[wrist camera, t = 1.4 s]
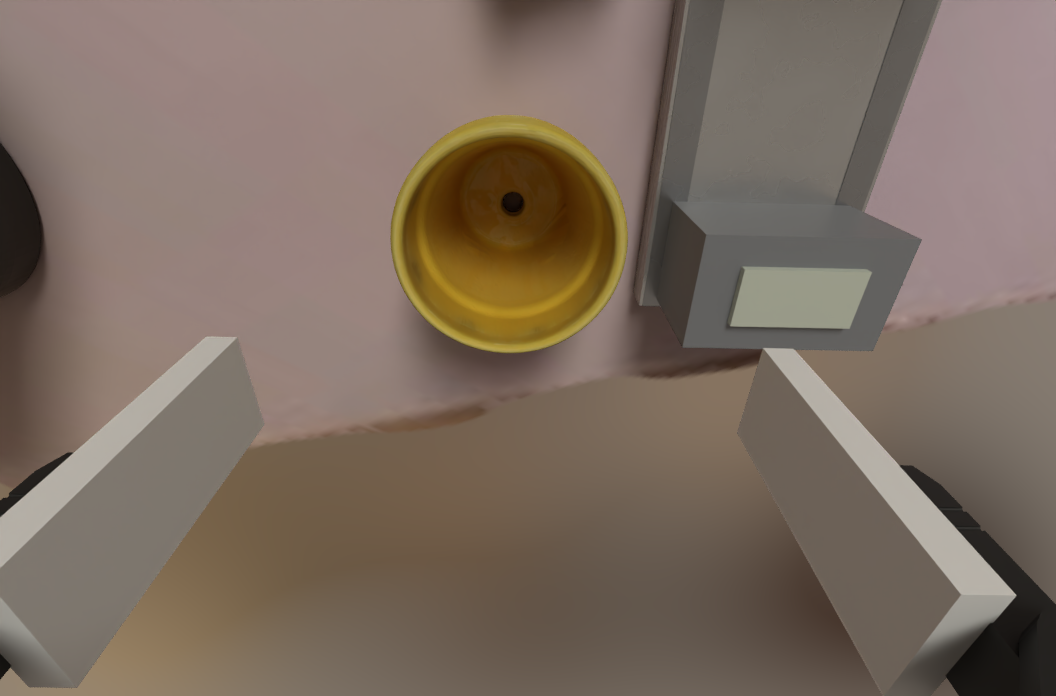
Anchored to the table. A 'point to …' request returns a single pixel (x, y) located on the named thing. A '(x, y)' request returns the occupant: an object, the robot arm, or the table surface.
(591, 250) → the plant pot
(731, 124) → the rail
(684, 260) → the module
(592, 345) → the table surface
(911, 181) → the table surface
